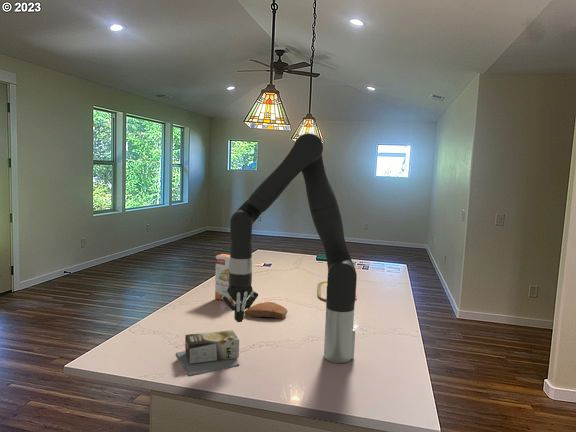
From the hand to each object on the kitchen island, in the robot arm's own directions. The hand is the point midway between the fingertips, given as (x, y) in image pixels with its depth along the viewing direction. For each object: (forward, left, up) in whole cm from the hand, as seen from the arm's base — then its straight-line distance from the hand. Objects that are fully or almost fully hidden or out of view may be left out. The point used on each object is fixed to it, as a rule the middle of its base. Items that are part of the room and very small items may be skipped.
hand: (239, 321), depth 140 cm
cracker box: (-17, -53, -11) cm, 57 cm away
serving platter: (-71, -45, -12) cm, 85 cm away
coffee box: (+1, 0, -8) cm, 8 cm away
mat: (+11, 0, -11) cm, 16 cm away
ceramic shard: (-25, -28, -12) cm, 39 cm away
